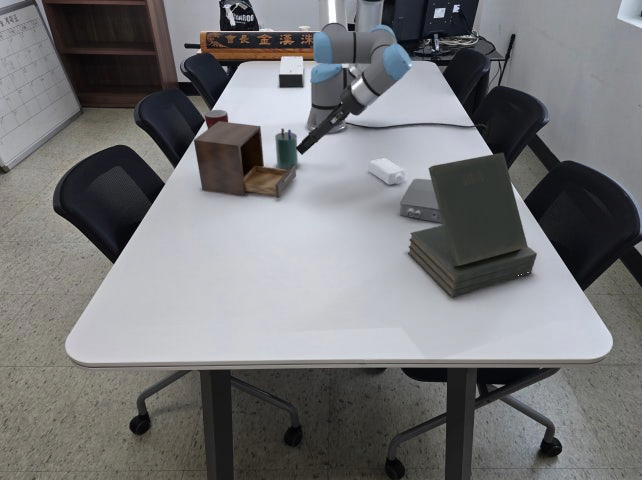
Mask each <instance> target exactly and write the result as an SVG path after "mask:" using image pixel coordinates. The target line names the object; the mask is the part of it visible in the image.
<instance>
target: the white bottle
mask: <svg viewBox="0 0 642 480" xmlns="http://www.w3.org/2000/svg"><path fill="white" fill-rule="evenodd" d="M368 172H370V173H371V174H372V175H374V176H375V177H377V178H378V179H380V180H381V181H383V182H384V183H385V184H386V185H388V186H391V185H400V184H401V183H403V182H404V181H405V175H406V170H405V169H404V168H402V167H401V166H398V165H397V164H395V163H393V162H392V161H390V160H389V159H387V158H385V157H382V158H377V159H371V160H370V161H369V165H368Z"/></svg>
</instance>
